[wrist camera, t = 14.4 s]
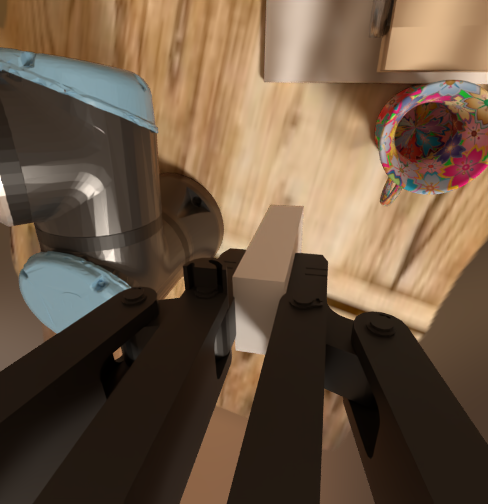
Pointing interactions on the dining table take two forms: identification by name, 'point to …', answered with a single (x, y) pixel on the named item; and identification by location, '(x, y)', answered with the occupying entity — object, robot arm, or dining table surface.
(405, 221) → the dining table surface
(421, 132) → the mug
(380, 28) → the pin
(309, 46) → the block
